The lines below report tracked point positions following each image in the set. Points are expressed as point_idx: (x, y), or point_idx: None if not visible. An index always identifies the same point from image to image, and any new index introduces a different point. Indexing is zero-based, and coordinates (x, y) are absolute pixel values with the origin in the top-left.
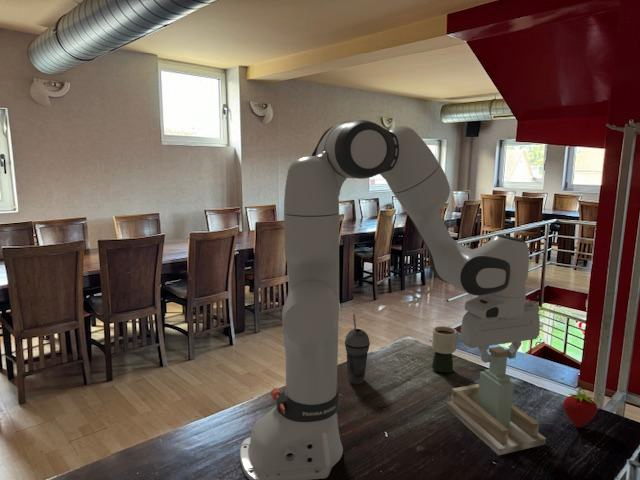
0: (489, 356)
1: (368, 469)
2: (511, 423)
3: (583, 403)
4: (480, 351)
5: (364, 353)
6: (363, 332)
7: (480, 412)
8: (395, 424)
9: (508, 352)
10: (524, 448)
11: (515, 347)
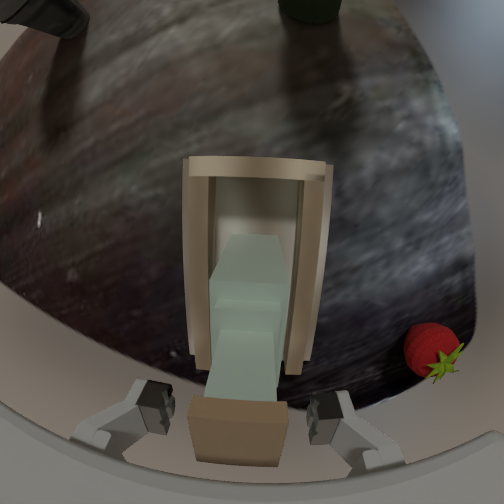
0: (154, 430)
1: (14, 285)
2: None
3: (429, 372)
4: (110, 408)
5: (29, 16)
6: None
7: (191, 298)
8: (58, 196)
9: (269, 464)
10: None
11: (349, 456)
